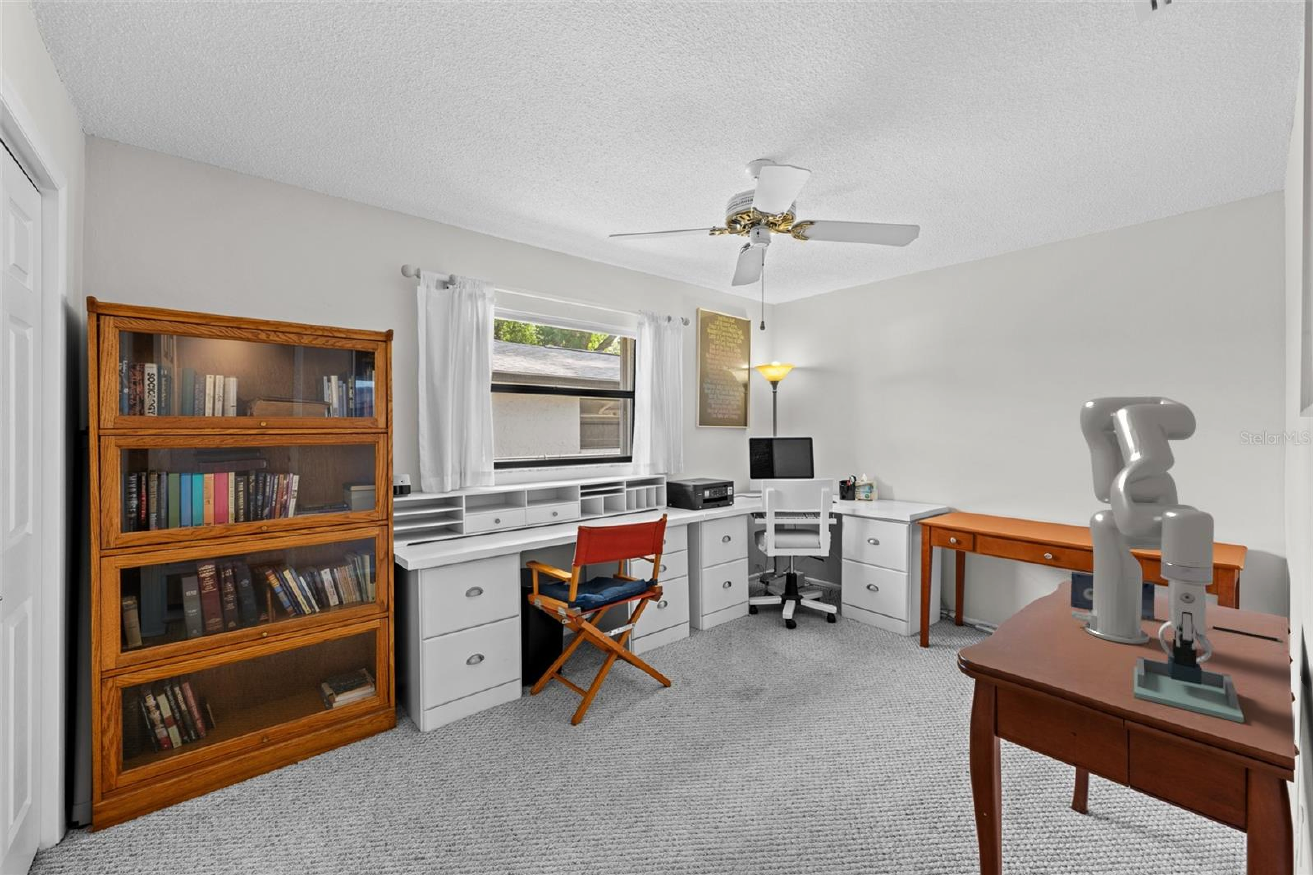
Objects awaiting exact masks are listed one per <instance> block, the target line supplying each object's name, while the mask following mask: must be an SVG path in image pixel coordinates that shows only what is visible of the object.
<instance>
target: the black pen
mask: <svg viewBox="0 0 1313 875" xmlns="http://www.w3.org/2000/svg"><path fill="white" fill-rule="evenodd" d="M1212 630H1217V631H1221V632H1227V633H1231V634H1237V635H1242V636H1245V637H1246V636H1247V637H1251V638H1255V639H1256V638H1257V639H1262V640H1267V641H1273V642H1277V643H1279V642H1280V643H1284V641H1283V639H1280V638H1278V637H1273V636H1266V635H1262V634H1261V635H1260V634H1256V633H1252V632H1245V631H1241V630H1236V629H1230V628H1225V627H1219V626H1213V625H1212Z"/></svg>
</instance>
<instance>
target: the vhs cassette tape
mask: <svg viewBox="0 0 1313 875" xmlns="http://www.w3.org/2000/svg"><path fill="white" fill-rule="evenodd" d="M1070 575H1071V577H1070V578H1071V582H1070V583H1071V584H1070V607H1072V608H1077V609H1082V610H1087V609H1088V611H1092V610H1093V573H1092V574H1091V573H1084V572H1078V571H1073V570H1072V571H1071V574H1070ZM1155 586H1156V584H1155V582H1148V581H1144V580H1142V613H1141V618H1144V619H1143V620H1147V619H1149V620H1148V621H1154V620H1155V594H1156V592H1155V589H1156V588H1155Z"/></svg>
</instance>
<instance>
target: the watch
mask: <svg viewBox="0 0 1313 875" xmlns="http://www.w3.org/2000/svg"><path fill="white" fill-rule="evenodd" d="M1170 627H1172V626H1171V621H1170V620H1168V621H1166V622H1165V623H1163V624H1162V625H1161V626H1160V628H1159V629H1158V635H1157V637H1158V639H1159V641H1160V644H1161V647H1162V648H1163V650H1164V652H1166V654H1167V662H1168V666H1167V669H1168V671H1169V674H1170V677H1171V679H1174V680H1179V681H1184V682H1189V683H1194V684H1199V685H1201V679H1202V669H1203V668H1202V667H1201V663H1205V662H1206V661H1207V660H1209V659H1210V658H1211V657H1212V654H1213V653H1212V651H1214V650H1215V649H1214V646H1213V645H1212V643H1211V641H1210V640H1209V639H1208V637H1207V635H1206V636H1204V637H1203V636H1201V634H1198V633H1197V631H1196V641H1197V643H1198V644H1199V645H1200V646H1201V647H1202V649H1203V650H1204V651H1205V652H1204V653H1203V654H1202V655H1201V656H1198V657H1197V661H1196V668H1195V667H1191V666H1186V665H1181V664H1176V663H1174V654H1173V649H1170V647H1169V646H1168V644H1167V643H1166V640H1165V637H1164V634H1163V633H1164V632H1165V630H1167V629H1168V628H1170ZM1191 631H1192V633H1193V630H1191Z"/></svg>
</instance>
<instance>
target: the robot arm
mask: <svg viewBox="0 0 1313 875" xmlns="http://www.w3.org/2000/svg"><path fill="white" fill-rule="evenodd" d="M1079 421H1080V422H1079V423H1080V428H1081V432H1082V435H1083V437H1084V440H1085V441H1086V444H1087V446H1088V449H1089V452H1090V453H1089V454H1090V461H1091V472H1092V483H1093V485H1092V486H1093V492H1094V494H1095V498H1096V499H1097V500H1098V501H1099V502H1101V503H1103V504H1106V505H1107V504H1108V505H1110V507H1111V509H1103V510H1099V511H1096V512H1095V513H1094V514H1092V516H1090V520H1089V531H1090V536H1091V542H1092V549H1093V550H1092V551H1093V552H1092V553H1093V572H1092V574H1093V610H1090V611H1091V612H1089V611H1087V612H1080V611H1075V610H1071V613H1070V614H1071V615H1070V617H1071V619H1074V620H1075V621H1078V622H1085V624H1084V629H1085V631H1086V632H1087V633H1089V634H1091V635H1092V636H1095V637H1098V638H1100V639H1103V640H1107V641H1112V642H1114V643H1115V642H1117V643H1122V644H1133V645H1141V644H1146V643H1147V644H1148V642H1149V641H1150V635H1149V634H1148V633H1147V632H1145V631H1144V630H1142V619H1141V613H1142V581H1143V568H1142V565H1141V563H1140V562H1139V561H1138V559H1137V558H1136V557H1135V556H1134V555H1133V554H1132V553H1131V550H1145V551H1147V550H1148V551H1160V553H1161V554H1160V577H1161V579H1164V580H1167V581H1168V614H1169V621H1171V626H1170V627H1171V629H1172V630H1173V631H1174V638H1172V651H1173V654H1174V663H1176V664H1181V665H1186V666H1191V667H1195V668H1196V661H1197V658H1198V657H1197V656H1198V654H1197V653H1198V652H1197V651H1198V649H1197V648H1196V643H1197V642H1196V641H1197V639H1196V631H1197V633H1198V634H1201V636H1203V637H1204V636H1206V637H1207V590H1206V586H1211V585H1212V584H1213V583H1214V582H1213V581H1214V576H1213V575H1214V542H1215V541H1214V540H1215V538H1214V536H1215V532H1214V531H1215V520H1214V517H1213V516H1212V514H1210V513H1209V512H1206V511H1203V510H1199V509H1198V508H1196V507H1194V506H1192V505H1190V504H1189V505H1187V504H1179V499H1178V498H1179V497H1178V491H1177V485H1176V482H1175V480H1174V478H1173V477H1172V475H1171V473H1169V472H1168V471H1169V470H1171V469H1172V468H1173V467H1174V465H1175V461H1176V460H1175V457H1174V454H1173V451H1172V448H1171V446H1170V442H1169V441H1185V440H1188V439H1190V438H1191V437H1193V435H1194V433H1195V431H1196V429H1197V421H1196V417H1195V415H1194V413H1193V411H1192V410H1191V408H1189V407H1188V406H1187V405H1186V404H1184V403H1182V402H1180V401H1177V400H1173V399H1171V398H1168V397H1163V396H1110V397H1099V398H1093V399H1090V400H1088V401H1086V402H1085V403H1084V404H1083V406H1081V409H1080V416H1079ZM1191 630H1193V633H1192V631H1191Z"/></svg>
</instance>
